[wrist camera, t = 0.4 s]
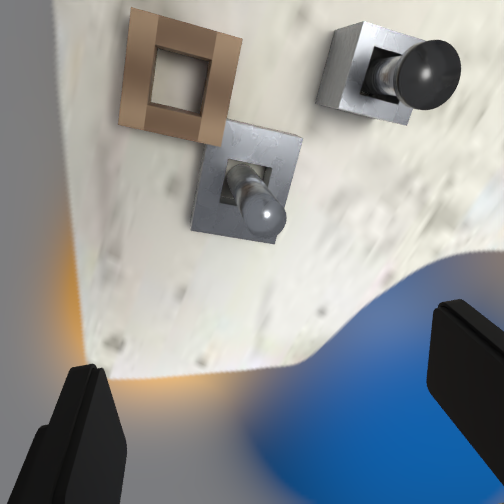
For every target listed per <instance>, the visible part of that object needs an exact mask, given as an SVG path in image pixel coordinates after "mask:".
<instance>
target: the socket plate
mask: <svg viewBox="0 0 504 504" xmlns="http://www.w3.org/2000/svg"><path fill="white" fill-rule="evenodd" d="M302 141H303V138H301V137H299V136H297V135H295V134H291V133H286V132H282V131H278V130H274V129H269V128H265V127H261V126H256V125H252V124H248V123H244V122H239V121H235V120H231V119H226V124H225V129H224V134H223V139H222V144H221V147H218V146H214V145H209V144H205V145H204V150H203V156H202V161H201V166H200V172H199V177H198V182H197V188H196V193H195V199H194V204H193V209H192V215H191V220H190V227H191V231H197V232H203V233H209V234H215V235H221V236H227V237H233V238H239V239H246V240H252V241H258V242H264V243H270V244H275V241H276V237H277V235H276V236H274V237H272V238H269V239H261V238H257V237H255V236H253V235H252V234H251V233H250V232H249V230H248V229H247V227H246V224H245V222H244V220H243V217H242V215H241V213H240V211H239V208H238V206H237V204H236V202H235V199H233V198H227V197H222V196H221V191H222V186H223V182H224V177H225V172H226V167H227V163H228V159H233V160H238V161H243V162H247V163H252V164H257V165H262V166H266V170H265V174H264V178H263V182H264V184H265V185H266V186H267V187H268V189H269V190H270V191H271V192H272V194H273V195H274V196H275V197H276V199H277V200H278V201H279V203H280V204H281V205H282V206H283V208H284V207H285V204H286V200H287V196H288V193H289V189H290V185H291V182H292V178H293V174H294V171H295V167H296V163H297V159H298V156H299V152H300V148H301V145H302Z"/></svg>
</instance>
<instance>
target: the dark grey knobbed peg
mask: <svg viewBox="0 0 504 504" xmlns="http://www.w3.org/2000/svg"><path fill="white" fill-rule="evenodd" d="M460 75H461V63H460V58H459V56H458V53H457V52H456V50H455V49H454V47H453V46H451V45H450V44H449V43H447V42H445V41H441V40H431V41H424V42H420V43H417V44H415V45H413V46H411V47H410V48H408V49H407V50H406V51H405V52H404V53H403V55H402V56H397V57H387V58H377V59H370V61H369V64H368V68H367V71H366V74H365V77H364V81H363V84H362V87H361V90H360V91H361V92H363V93H369V94H380V95H392V96H397V98H398V99H399V101H400V102H401V103H402V104H404V105H405V106H407V107H409V108H413V109H420V110H430V109H434V108H437V107H439V106H440V105H442V104H443V103H445V102H446V101H447V100H448V99H449V98H450V97H451V96H452V94H453V93H454V91H455V89H456V87H457V85H458V83H459V79H460Z"/></svg>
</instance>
